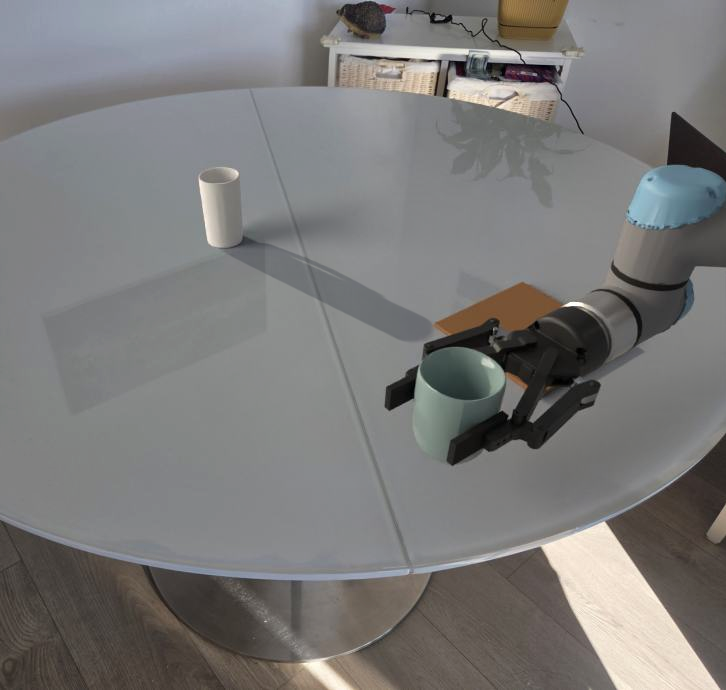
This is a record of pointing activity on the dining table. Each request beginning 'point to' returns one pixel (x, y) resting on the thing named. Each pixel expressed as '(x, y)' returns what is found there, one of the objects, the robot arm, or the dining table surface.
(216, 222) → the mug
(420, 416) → the cup
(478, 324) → the cork mat
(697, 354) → the dining table surface
